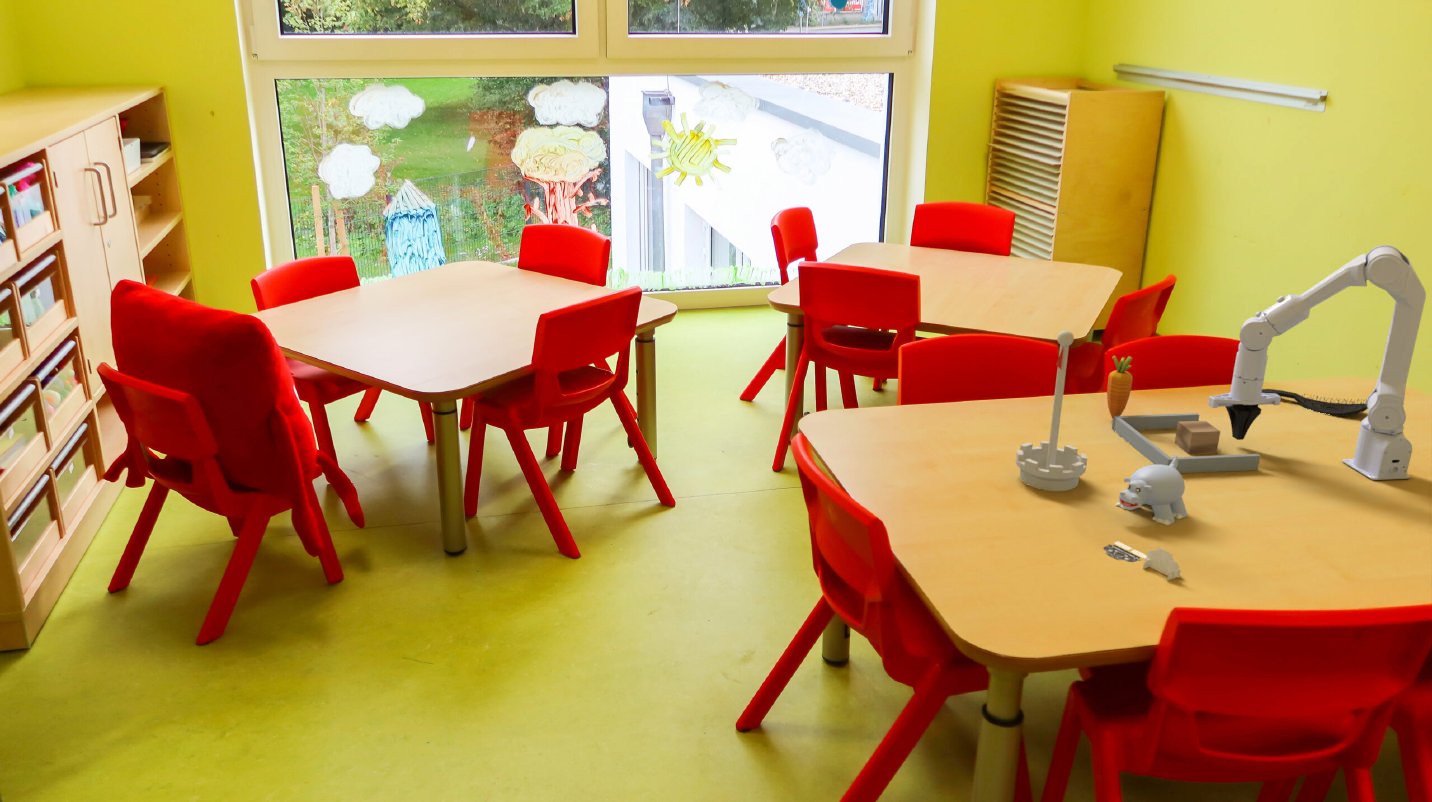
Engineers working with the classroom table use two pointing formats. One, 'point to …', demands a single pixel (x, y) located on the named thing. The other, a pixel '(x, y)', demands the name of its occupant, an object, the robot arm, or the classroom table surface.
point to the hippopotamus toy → (1156, 492)
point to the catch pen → (1127, 430)
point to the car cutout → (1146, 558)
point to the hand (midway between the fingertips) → (1237, 437)
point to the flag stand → (1053, 443)
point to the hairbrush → (1322, 404)
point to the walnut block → (1197, 437)
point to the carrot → (1119, 387)
